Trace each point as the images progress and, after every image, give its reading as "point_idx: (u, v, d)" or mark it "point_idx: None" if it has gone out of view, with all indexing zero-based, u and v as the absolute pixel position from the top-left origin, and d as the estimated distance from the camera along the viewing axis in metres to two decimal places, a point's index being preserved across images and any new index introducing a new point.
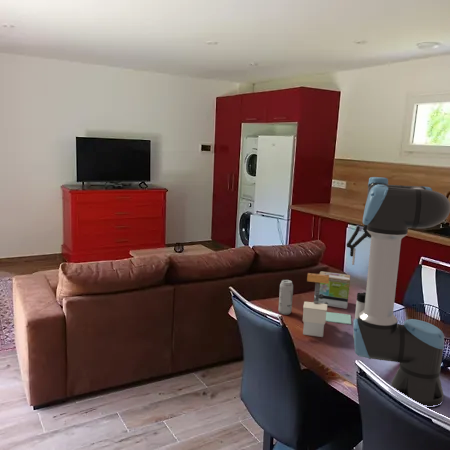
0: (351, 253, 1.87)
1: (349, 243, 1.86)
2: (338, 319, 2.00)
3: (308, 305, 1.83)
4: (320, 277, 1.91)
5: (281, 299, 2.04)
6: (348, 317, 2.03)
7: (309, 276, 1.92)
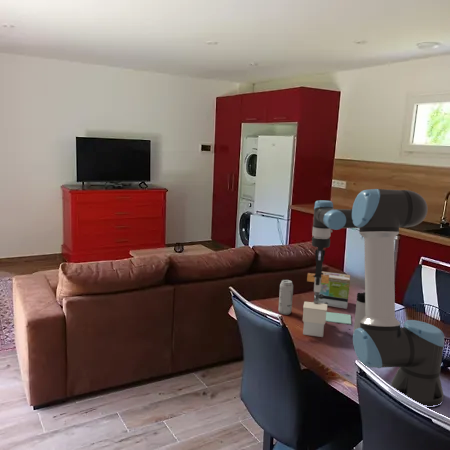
0: None
1: None
2: (338, 319, 2.00)
3: (308, 305, 1.83)
4: None
5: (281, 299, 2.04)
6: (348, 317, 2.03)
7: (309, 276, 1.92)
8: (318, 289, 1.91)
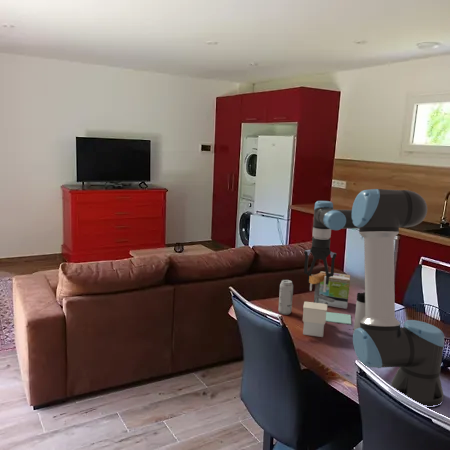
0: (308, 279, 1.93)
1: (305, 269, 1.92)
2: (338, 319, 2.00)
3: (308, 305, 1.83)
4: (321, 276, 1.92)
5: (281, 299, 2.04)
6: (348, 317, 2.03)
7: (315, 278, 1.89)
8: None
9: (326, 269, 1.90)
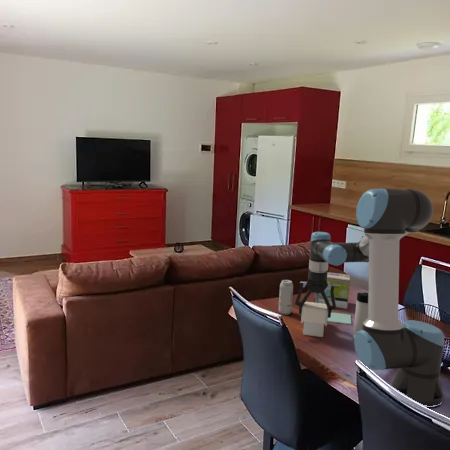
0: (300, 311, 1.84)
1: (297, 301, 1.83)
2: (338, 319, 2.00)
3: (308, 305, 1.83)
4: None
5: (281, 299, 2.04)
6: (348, 317, 2.03)
7: None
8: None
9: (327, 302, 1.80)
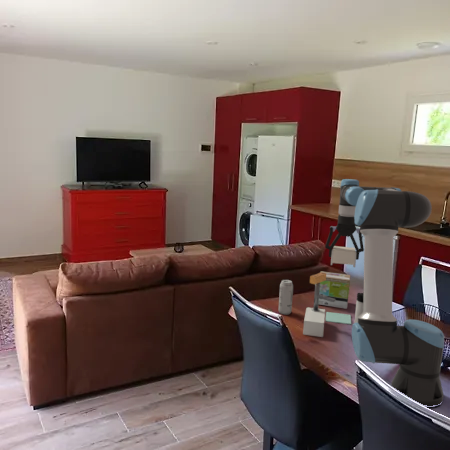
0: (329, 254, 1.98)
1: (327, 244, 1.97)
2: (338, 319, 2.00)
3: (338, 248, 1.97)
4: (321, 276, 1.92)
5: (281, 299, 2.04)
6: (348, 317, 2.03)
7: (316, 278, 1.89)
8: None
9: (355, 245, 1.94)
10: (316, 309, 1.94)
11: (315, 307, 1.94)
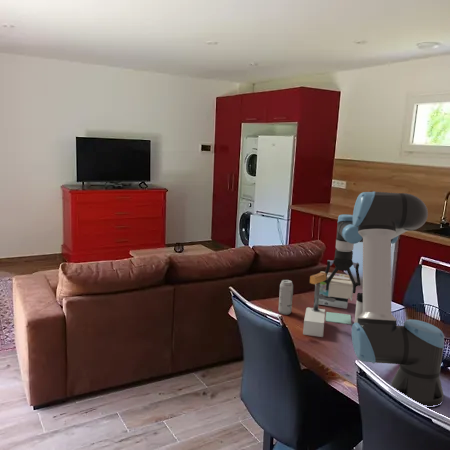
0: (327, 287, 2.01)
1: None
2: (338, 319, 2.00)
3: (335, 282, 2.00)
4: (321, 276, 1.92)
5: (281, 299, 2.04)
6: (348, 317, 2.03)
7: (316, 278, 1.89)
8: None
9: (352, 279, 1.97)
10: (316, 309, 1.94)
11: (315, 307, 1.94)
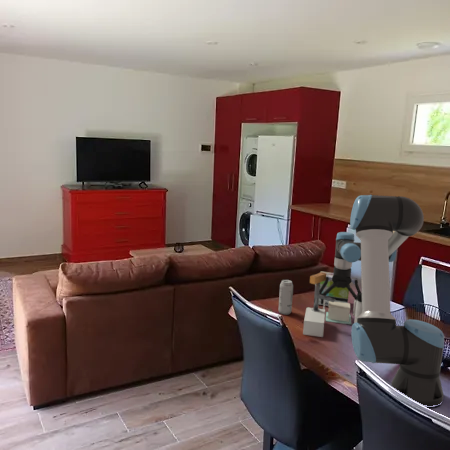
0: (321, 301, 2.02)
1: (319, 292, 2.01)
2: None
3: (333, 304, 2.02)
4: (321, 276, 1.92)
5: (281, 299, 2.04)
6: None
7: (316, 278, 1.89)
8: None
9: (353, 295, 1.98)
10: (316, 309, 1.94)
11: (315, 307, 1.94)
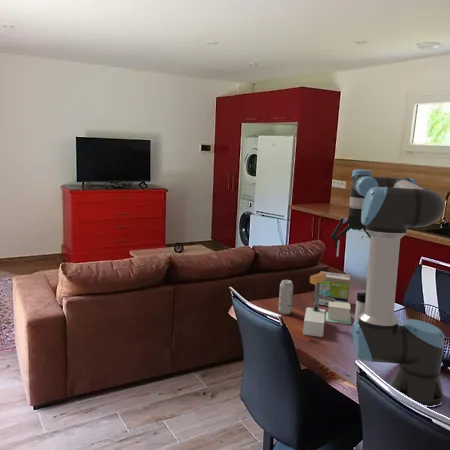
0: (335, 245, 1.89)
1: (333, 235, 1.88)
2: None
3: (333, 304, 2.02)
4: (321, 276, 1.92)
5: (281, 299, 2.04)
6: None
7: (316, 278, 1.89)
8: None
9: (371, 237, 1.84)
10: (316, 309, 1.94)
11: (315, 307, 1.94)
